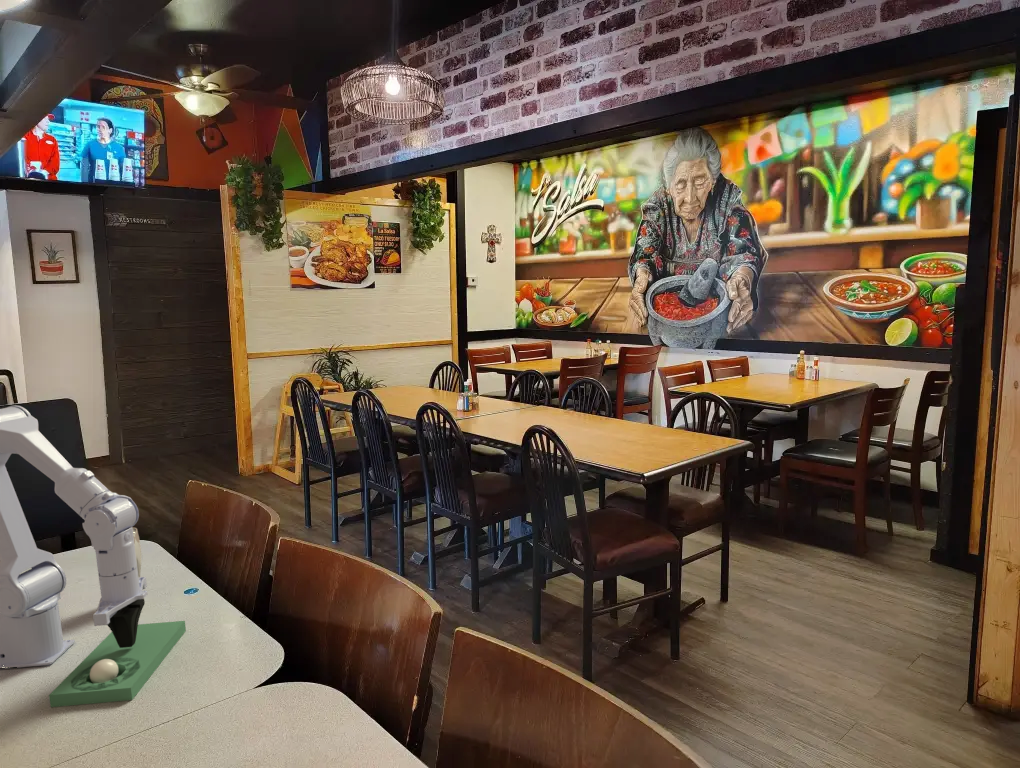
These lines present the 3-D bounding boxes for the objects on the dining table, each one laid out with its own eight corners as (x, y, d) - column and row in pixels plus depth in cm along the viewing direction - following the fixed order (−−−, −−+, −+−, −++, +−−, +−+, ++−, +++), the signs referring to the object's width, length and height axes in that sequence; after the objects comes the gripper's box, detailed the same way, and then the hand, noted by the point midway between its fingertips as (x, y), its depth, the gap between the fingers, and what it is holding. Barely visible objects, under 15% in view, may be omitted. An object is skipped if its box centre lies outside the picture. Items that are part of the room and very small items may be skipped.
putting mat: (50, 707, 105) (48, 695, 105) (118, 636, 127) (117, 626, 126) (132, 699, 106) (130, 687, 106) (185, 630, 128) (184, 620, 127)
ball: (82, 667, 108) (93, 661, 112) (88, 692, 108) (99, 685, 112) (109, 658, 109) (118, 652, 113) (115, 683, 109) (125, 676, 113)
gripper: (122, 586, 109) (132, 666, 111) (160, 552, 123) (168, 623, 125) (75, 589, 108) (86, 669, 110) (119, 555, 123) (128, 626, 124)
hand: (127, 645), depth 117 cm, fingers closed
